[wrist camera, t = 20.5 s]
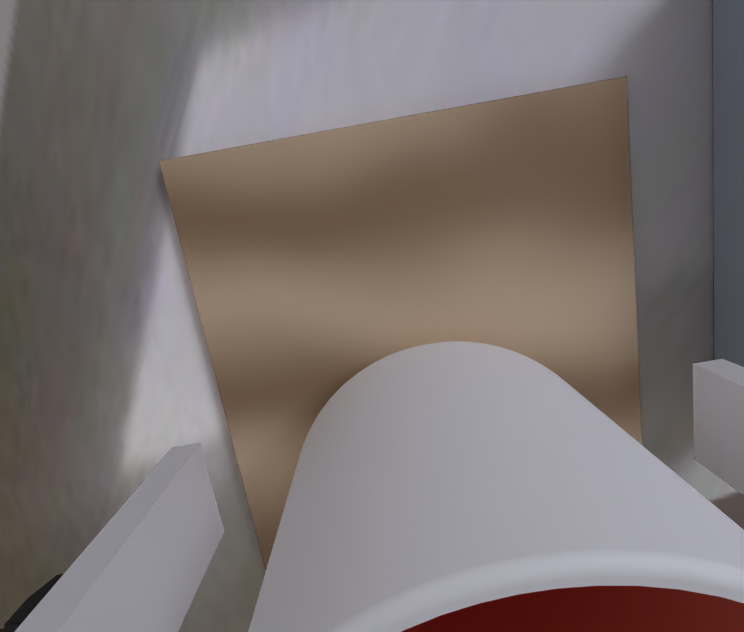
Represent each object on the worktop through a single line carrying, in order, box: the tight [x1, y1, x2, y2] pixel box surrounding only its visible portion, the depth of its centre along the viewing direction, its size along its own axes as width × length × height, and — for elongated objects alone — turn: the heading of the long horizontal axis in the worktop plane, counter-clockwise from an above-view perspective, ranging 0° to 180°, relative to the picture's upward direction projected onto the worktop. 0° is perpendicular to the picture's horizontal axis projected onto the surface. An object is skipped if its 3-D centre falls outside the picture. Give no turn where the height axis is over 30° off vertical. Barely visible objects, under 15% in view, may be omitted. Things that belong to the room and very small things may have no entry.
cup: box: [248, 341, 744, 632], centre depth 11 cm, size 10×10×10 cm
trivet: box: [159, 76, 642, 569], centre depth 15 cm, size 18×14×1 cm
